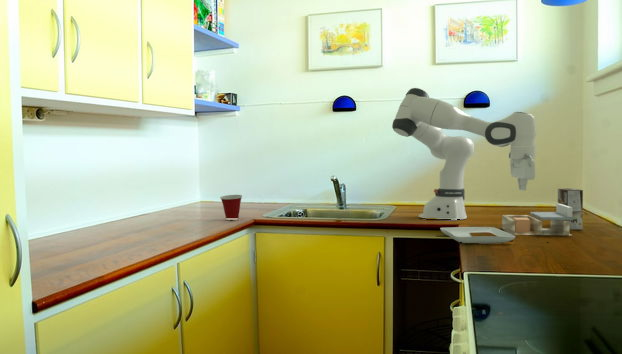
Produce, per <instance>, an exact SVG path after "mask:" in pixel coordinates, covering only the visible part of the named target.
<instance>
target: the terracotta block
mask: <svg viewBox="0 0 622 354" xmlns="http://www.w3.org/2000/svg"><path fill="white" fill-rule="evenodd" d="M513 220H515V232H520V233H530V219H528V218H513Z"/></svg>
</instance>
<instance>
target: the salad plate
mask: <svg viewBox="0 0 622 354" xmlns="http://www.w3.org/2000/svg"><path fill="white" fill-rule="evenodd" d="M439 229H440V231H441V232H442V233H443V234H444V235H446V236H448V237H450V238H451V239H453V240H454V241H456V242H458V243H460V242H462V243H461V244H465V243H479V244H503V243H508V242H511V241H512V240H513V241H514V239H516V235H511V234H509V233H508V232H506V231H505V230H503V229H502V230H501V229H499V228H496V227H493V226H456V227H454V226H453V227H440V228H439ZM471 233H491V234H492V235H495V236H492V235H491V236H487V235H483V236H481V235H480V236H473V235H472V234H471Z"/></svg>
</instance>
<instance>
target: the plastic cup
mask: <svg viewBox="0 0 622 354" xmlns="http://www.w3.org/2000/svg"><path fill="white" fill-rule="evenodd" d="M219 198H220V200H221V203H222V206H223V212H224V215H225V219H226V218H238V219H239V217H240V216H239V215H240V210H241V209H240V208H241V202H242V198H243V195H242V194H228V195H224V196H220V197H219Z"/></svg>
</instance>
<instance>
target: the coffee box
mask: <svg viewBox="0 0 622 354" xmlns="http://www.w3.org/2000/svg"><path fill="white" fill-rule="evenodd" d="M583 198H584V190H583V189H577V188H557V204H563V205H566V206H569V207H572V217H573V220H569V221H570V225H569V230H583V219H584V218H583V215H584V213H583V211H584V206H583V204H584V199H583Z"/></svg>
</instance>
